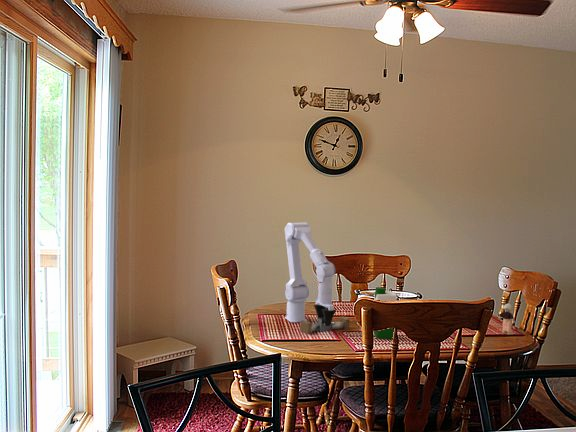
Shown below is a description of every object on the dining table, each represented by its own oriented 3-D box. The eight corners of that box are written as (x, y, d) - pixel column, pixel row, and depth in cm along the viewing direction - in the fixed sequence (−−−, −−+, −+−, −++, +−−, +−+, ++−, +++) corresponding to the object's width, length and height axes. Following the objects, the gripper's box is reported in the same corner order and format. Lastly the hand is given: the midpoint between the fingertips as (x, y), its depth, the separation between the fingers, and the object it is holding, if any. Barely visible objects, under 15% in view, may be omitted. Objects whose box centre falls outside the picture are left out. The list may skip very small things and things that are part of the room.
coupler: (326, 328, 249) (326, 316, 248) (330, 330, 245) (330, 319, 244) (317, 329, 247) (317, 317, 247) (321, 331, 243) (321, 319, 243)
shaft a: (332, 330, 245) (333, 320, 244) (328, 327, 249) (328, 317, 249) (349, 329, 247) (349, 319, 247) (344, 326, 252) (344, 316, 252)
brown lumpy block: (313, 328, 247) (313, 318, 247) (321, 331, 243) (321, 321, 243) (300, 331, 242) (300, 321, 242) (307, 334, 238) (308, 323, 238)
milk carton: (371, 333, 242) (373, 285, 240) (393, 333, 242) (394, 286, 241) (374, 339, 233) (376, 290, 232) (397, 339, 233) (399, 290, 232)
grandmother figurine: (517, 334, 246) (518, 304, 245) (513, 335, 243) (514, 305, 242) (499, 330, 251) (500, 301, 251) (495, 331, 249) (496, 302, 248)
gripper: (310, 289, 251) (309, 320, 251) (322, 295, 237) (321, 328, 238) (325, 288, 253) (324, 319, 254) (338, 294, 239) (337, 327, 240)
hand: (324, 323), depth 246 cm, fingers open, 7 cm apart
